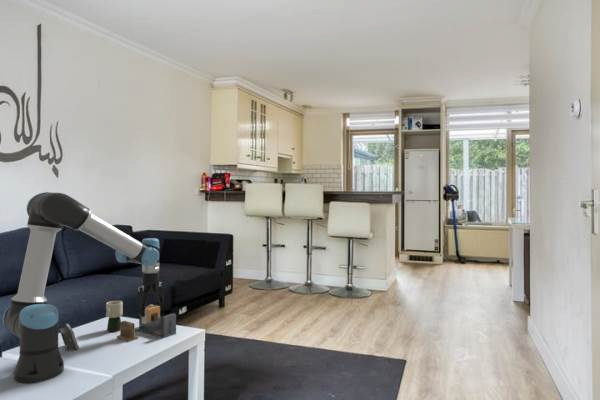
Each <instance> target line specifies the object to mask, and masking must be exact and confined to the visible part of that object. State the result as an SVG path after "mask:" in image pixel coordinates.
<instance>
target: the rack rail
mask: <svg viewBox="0 0 600 400" xmlns="http://www.w3.org/2000/svg"><path fill="white" fill-rule="evenodd" d="M135 331H137V332H139V333H143V334H146V335H150V336H155V337H158V338H162V339H166V338H168V337H171V336H173V335H176V334H177V314H176V313H169V314H166V315H164V316H160V317H158V316H153V315H151V322H149V323H148V322H147V324H144V323H142V316H141V313H139V314H138V327H137V326H136V327H134V332H135Z"/></svg>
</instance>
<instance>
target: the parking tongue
mask: <svg viewBox="0 0 600 400" xmlns="http://www.w3.org/2000/svg"><path fill="white" fill-rule="evenodd" d="M119 332H120V334H119V335H117V336H116V339H118V340H121V341H123V342H124V341H125V342H127V343H129V342H132V341H134V340H135V341H136V340H138V339H139V336H138V335H135V323H134V322H130V321H127V320H122V321H121V322H120V331H119Z"/></svg>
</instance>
